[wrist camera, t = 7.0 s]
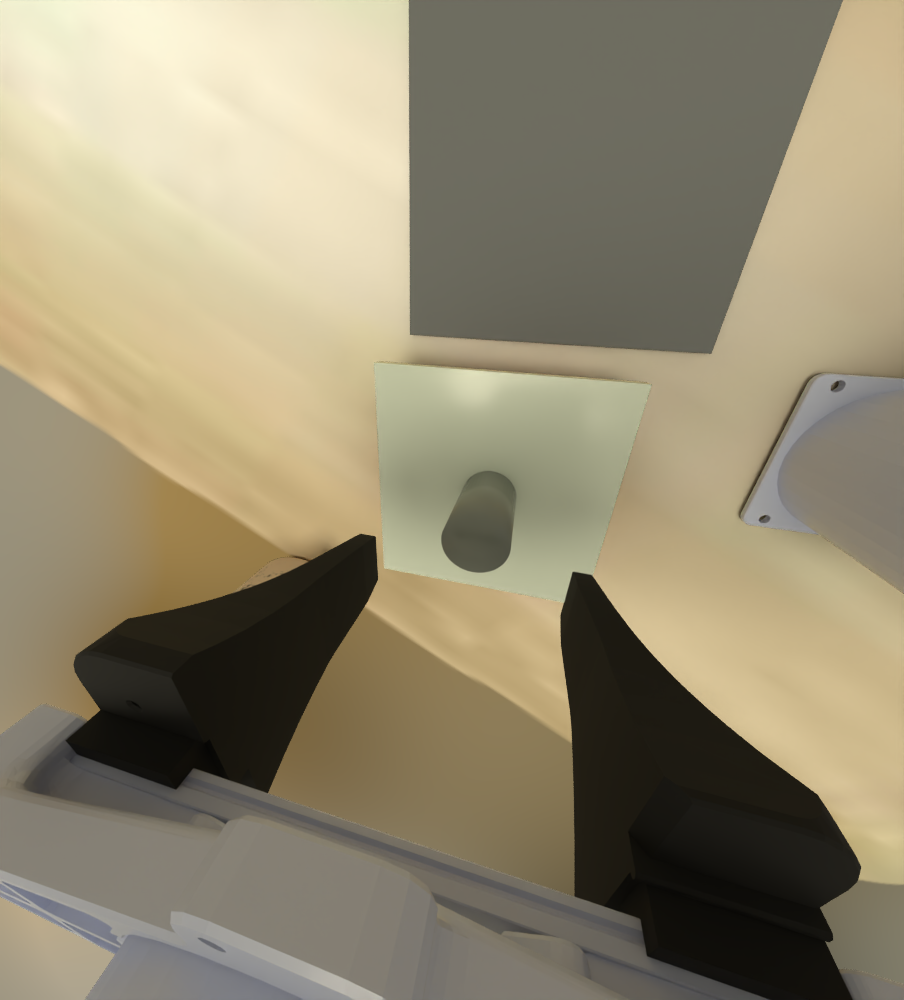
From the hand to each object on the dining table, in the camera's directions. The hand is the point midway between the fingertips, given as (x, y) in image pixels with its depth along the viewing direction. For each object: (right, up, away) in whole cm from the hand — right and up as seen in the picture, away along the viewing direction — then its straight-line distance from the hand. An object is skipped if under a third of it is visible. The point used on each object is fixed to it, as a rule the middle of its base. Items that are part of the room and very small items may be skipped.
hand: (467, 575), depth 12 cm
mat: (+5, +18, +2) cm, 18 cm away
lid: (+2, +3, +6) cm, 7 cm away
